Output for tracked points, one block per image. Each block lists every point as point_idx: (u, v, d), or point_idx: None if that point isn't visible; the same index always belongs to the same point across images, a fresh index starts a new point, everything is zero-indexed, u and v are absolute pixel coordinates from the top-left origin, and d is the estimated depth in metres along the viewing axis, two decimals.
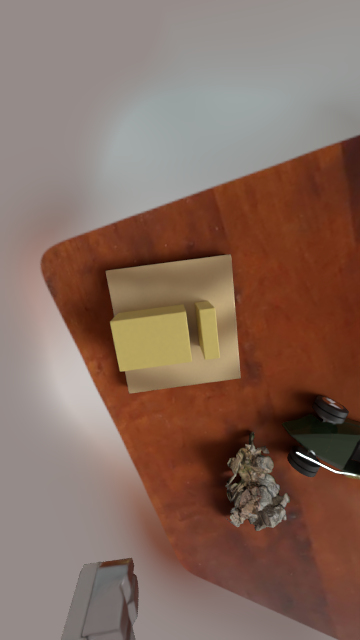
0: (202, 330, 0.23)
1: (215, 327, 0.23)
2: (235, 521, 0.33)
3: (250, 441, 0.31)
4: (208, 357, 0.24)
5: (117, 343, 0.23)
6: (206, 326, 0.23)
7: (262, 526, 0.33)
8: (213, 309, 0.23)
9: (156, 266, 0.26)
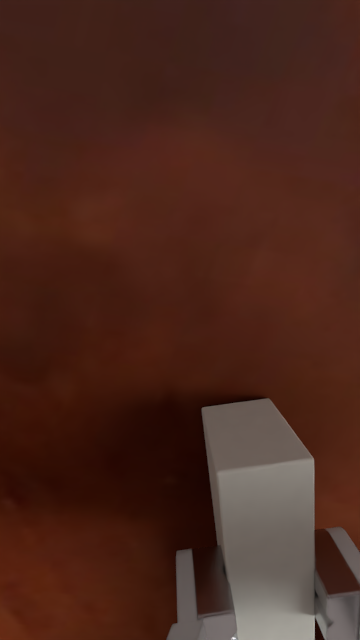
0: None
1: None
2: None
3: None
4: None
5: None
6: None
7: None
8: None
9: None
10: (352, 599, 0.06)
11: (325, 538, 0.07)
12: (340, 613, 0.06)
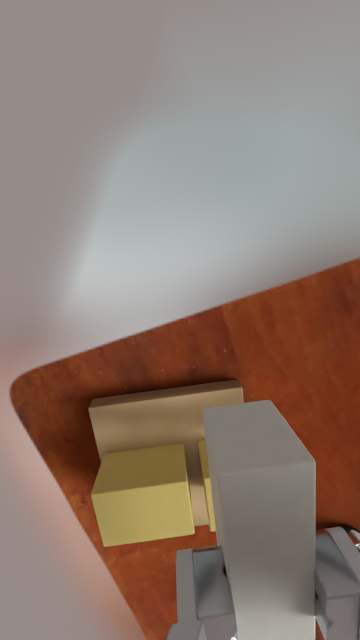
0: (207, 500, 0.18)
1: None
2: None
3: None
4: (215, 529, 0.19)
5: (101, 517, 0.18)
6: None
7: None
8: None
9: (150, 402, 0.21)
10: (352, 599, 0.06)
11: (325, 538, 0.07)
12: (341, 614, 0.06)
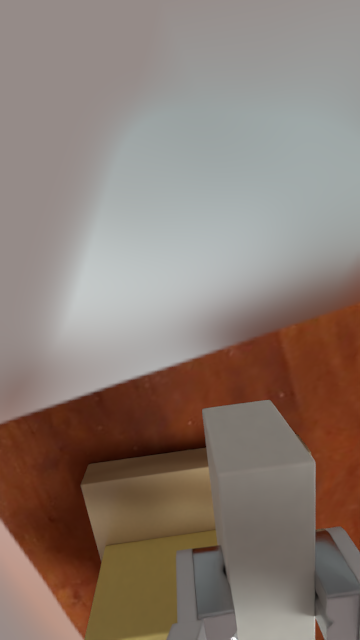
0: None
1: None
2: None
3: None
4: None
5: None
6: None
7: None
8: None
9: (174, 475, 0.14)
10: (352, 599, 0.06)
11: (325, 538, 0.07)
12: (341, 614, 0.06)
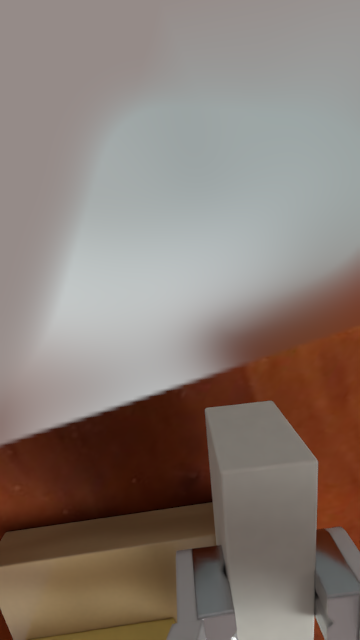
0: None
1: None
2: None
3: None
4: None
5: None
6: None
7: None
8: None
9: (108, 554, 0.11)
10: (352, 599, 0.06)
11: (325, 538, 0.07)
12: (341, 613, 0.06)
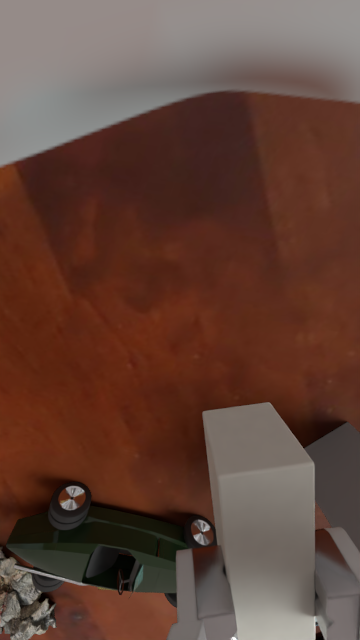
0: None
1: None
2: None
3: None
4: None
5: None
6: None
7: None
8: None
9: None
10: (352, 599, 0.06)
11: (325, 538, 0.07)
12: (341, 613, 0.06)
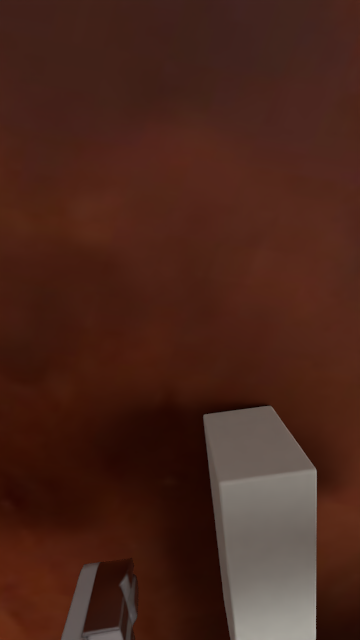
0: None
1: None
2: None
3: None
4: None
5: None
6: None
7: None
8: None
9: None
10: None
11: None
12: None
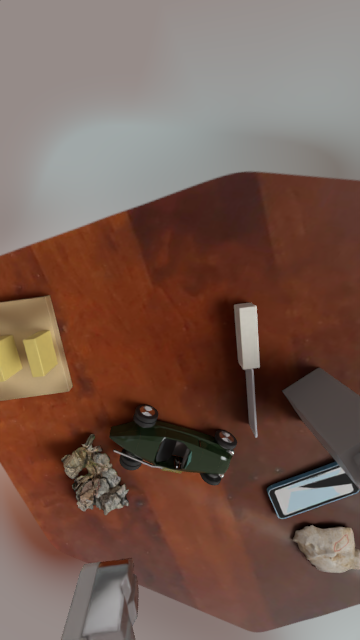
0: (27, 355, 0.31)
1: (37, 353, 0.31)
2: (81, 506, 0.40)
3: (87, 441, 0.39)
4: (35, 375, 0.31)
5: None
6: (30, 352, 0.31)
7: (105, 511, 0.41)
8: (33, 339, 0.30)
9: None
10: None
11: None
12: None
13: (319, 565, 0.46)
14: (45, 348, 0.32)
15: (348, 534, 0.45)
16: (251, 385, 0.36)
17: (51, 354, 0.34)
